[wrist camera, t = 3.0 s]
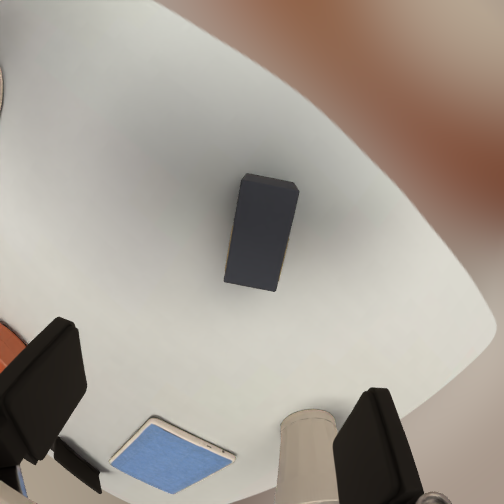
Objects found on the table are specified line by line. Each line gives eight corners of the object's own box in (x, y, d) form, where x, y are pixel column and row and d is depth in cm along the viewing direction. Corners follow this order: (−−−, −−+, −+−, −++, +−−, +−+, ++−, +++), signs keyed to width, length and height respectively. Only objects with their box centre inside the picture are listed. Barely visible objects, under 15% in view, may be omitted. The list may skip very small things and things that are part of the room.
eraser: (245, 172, 22) (240, 179, 19) (295, 182, 22) (300, 191, 19) (229, 260, 25) (222, 282, 21) (275, 269, 25) (276, 292, 21)
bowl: (-32, 302, 29) (-53, 318, 25) (38, 337, 29) (16, 360, 25) (-6, 378, 35) (-21, 395, 30) (61, 415, 35) (47, 437, 30)
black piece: (37, 445, 38) (35, 476, 29) (53, 423, 40) (53, 454, 32) (85, 474, 42) (91, 506, 33) (103, 454, 45) (111, 486, 36)
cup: (277, 447, 33) (277, 529, 22) (269, 409, 30) (266, 505, 19) (341, 439, 32) (354, 519, 21) (342, 399, 29) (362, 493, 18)
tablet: (153, 412, 32) (150, 420, 31) (239, 454, 34) (238, 462, 33) (109, 458, 38) (106, 463, 36) (175, 490, 40) (173, 496, 39)
